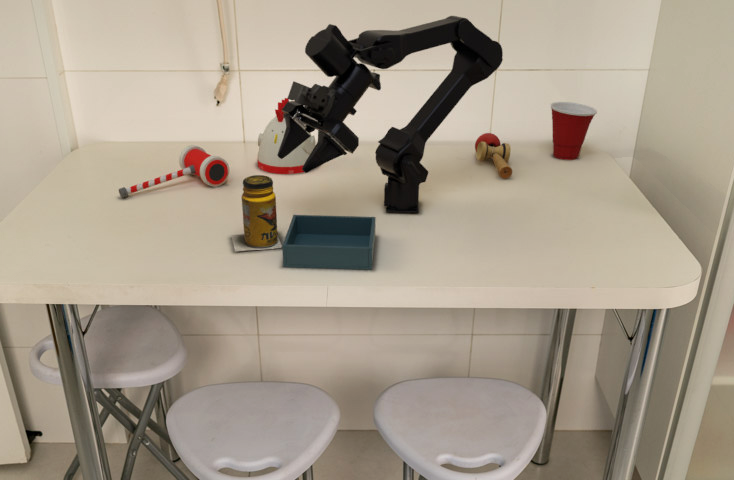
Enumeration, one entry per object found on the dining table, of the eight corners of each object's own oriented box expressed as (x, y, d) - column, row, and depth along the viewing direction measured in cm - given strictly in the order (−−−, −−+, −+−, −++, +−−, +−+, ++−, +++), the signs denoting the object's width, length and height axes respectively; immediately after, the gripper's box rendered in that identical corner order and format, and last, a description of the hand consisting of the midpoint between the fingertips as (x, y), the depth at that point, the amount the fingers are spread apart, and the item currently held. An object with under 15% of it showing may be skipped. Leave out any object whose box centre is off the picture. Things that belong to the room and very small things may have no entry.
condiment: (282, 248, 141) (279, 184, 135) (235, 252, 139) (230, 187, 133) (276, 232, 147) (273, 171, 141) (231, 236, 145) (226, 174, 139)
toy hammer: (133, 206, 158) (128, 176, 155) (110, 190, 166) (105, 161, 163) (231, 183, 170) (229, 155, 167) (205, 169, 178) (202, 142, 175)
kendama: (524, 183, 175) (501, 148, 189) (523, 157, 171) (500, 124, 185) (490, 190, 175) (469, 155, 189) (489, 165, 171) (468, 131, 185)
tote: (375, 237, 145) (375, 216, 143) (371, 269, 133) (372, 248, 131) (294, 234, 146) (293, 214, 144) (283, 267, 134) (282, 245, 132)
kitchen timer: (247, 169, 179) (242, 102, 171) (274, 152, 190) (271, 89, 182) (301, 177, 174) (299, 109, 167) (327, 159, 185) (326, 95, 178)
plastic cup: (594, 163, 183) (603, 112, 177) (548, 163, 183) (555, 111, 177) (583, 150, 192) (591, 100, 186) (539, 149, 192) (545, 100, 186)
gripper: (289, 54, 140) (237, 124, 141) (343, 73, 127) (286, 151, 127) (327, 94, 148) (278, 160, 149) (382, 116, 134) (328, 188, 135)
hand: (291, 164), depth 140 cm, fingers open, 9 cm apart
